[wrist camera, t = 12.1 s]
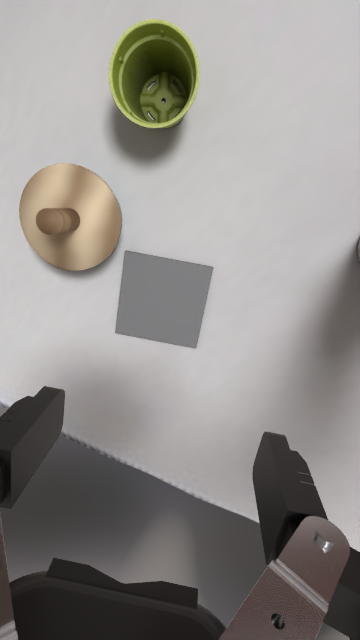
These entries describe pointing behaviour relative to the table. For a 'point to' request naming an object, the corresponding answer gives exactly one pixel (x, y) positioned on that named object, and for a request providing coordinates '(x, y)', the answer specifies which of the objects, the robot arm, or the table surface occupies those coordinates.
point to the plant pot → (154, 73)
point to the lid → (70, 216)
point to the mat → (162, 299)
